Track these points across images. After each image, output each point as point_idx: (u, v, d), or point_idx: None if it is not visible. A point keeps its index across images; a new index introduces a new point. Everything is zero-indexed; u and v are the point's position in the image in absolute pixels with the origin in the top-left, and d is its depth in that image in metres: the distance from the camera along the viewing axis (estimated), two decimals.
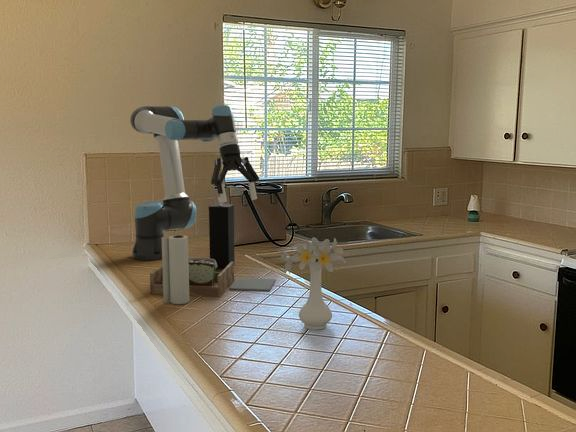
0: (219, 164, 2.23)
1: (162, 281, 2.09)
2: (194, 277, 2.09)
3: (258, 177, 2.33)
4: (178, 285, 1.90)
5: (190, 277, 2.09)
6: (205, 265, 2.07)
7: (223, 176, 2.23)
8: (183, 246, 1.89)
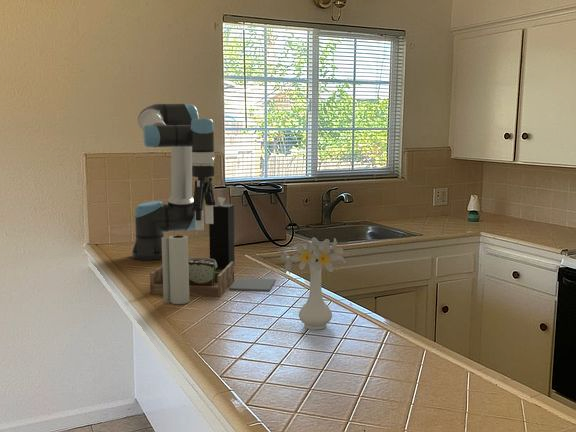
0: (202, 188, 2.00)
1: None
2: (194, 277, 2.09)
3: None
4: (178, 285, 1.90)
5: (190, 277, 2.09)
6: (205, 265, 2.07)
7: (203, 201, 2.02)
8: (183, 246, 1.89)
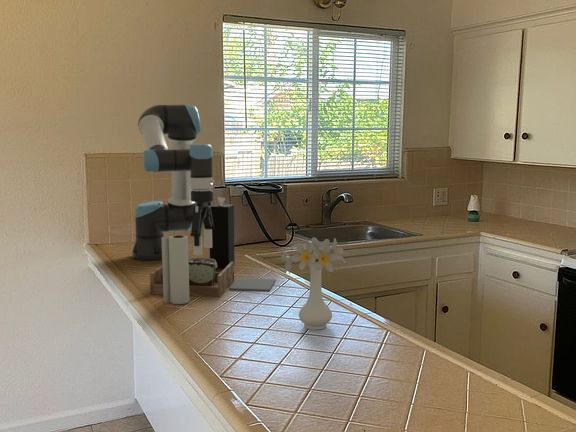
0: (200, 213, 2.01)
1: None
2: (194, 277, 2.09)
3: None
4: (178, 285, 1.90)
5: (190, 277, 2.09)
6: (205, 265, 2.07)
7: (201, 227, 2.02)
8: (183, 246, 1.89)
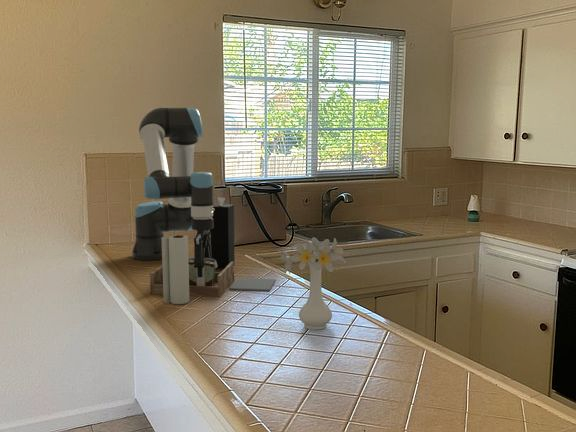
0: (201, 245, 2.03)
1: None
2: (194, 277, 2.09)
3: (211, 256, 2.17)
4: (178, 285, 1.90)
5: (190, 277, 2.09)
6: (205, 265, 2.07)
7: (203, 257, 2.06)
8: (183, 246, 1.89)
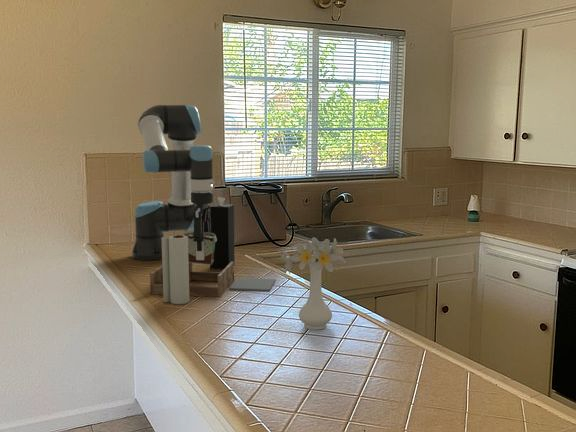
0: (201, 218, 2.02)
1: None
2: (193, 251, 2.08)
3: (210, 231, 2.16)
4: (178, 285, 1.90)
5: (189, 251, 2.09)
6: (204, 239, 2.06)
7: (203, 231, 2.05)
8: (183, 246, 1.89)
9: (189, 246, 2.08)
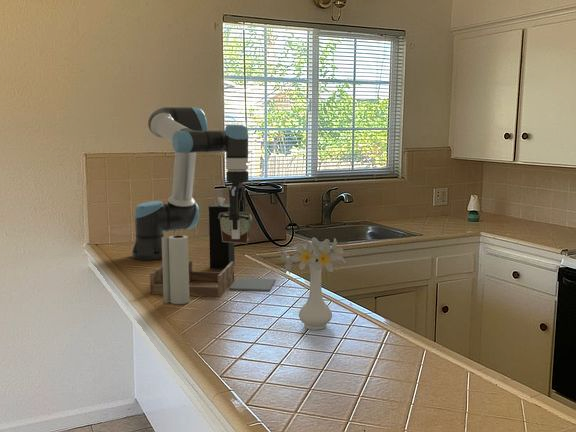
0: (237, 196, 2.03)
1: None
2: (229, 230, 2.08)
3: (245, 211, 2.16)
4: (178, 285, 1.90)
5: (225, 230, 2.09)
6: (240, 218, 2.06)
7: (238, 210, 2.06)
8: (183, 246, 1.89)
9: (224, 225, 2.09)
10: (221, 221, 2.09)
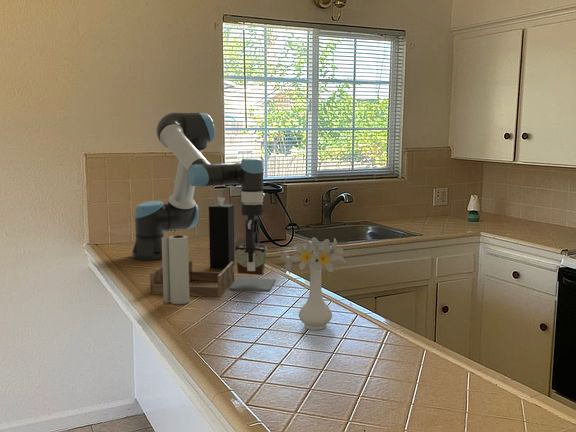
0: (253, 230, 2.06)
1: None
2: (244, 262, 2.11)
3: (259, 242, 2.19)
4: (178, 285, 1.90)
5: (240, 262, 2.12)
6: (255, 250, 2.09)
7: (254, 242, 2.08)
8: (183, 246, 1.89)
9: (240, 257, 2.11)
10: (236, 253, 2.12)
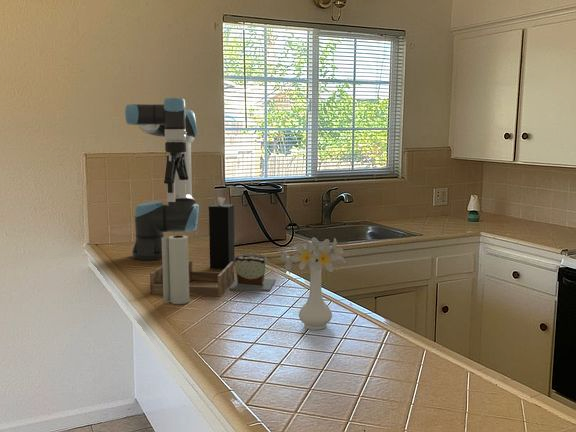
0: (173, 162, 2.15)
1: None
2: (244, 273, 2.12)
3: (187, 175, 2.32)
4: (178, 285, 1.90)
5: (240, 273, 2.12)
6: (255, 261, 2.10)
7: (174, 175, 2.16)
8: (183, 246, 1.89)
9: (240, 268, 2.12)
10: (236, 264, 2.12)
